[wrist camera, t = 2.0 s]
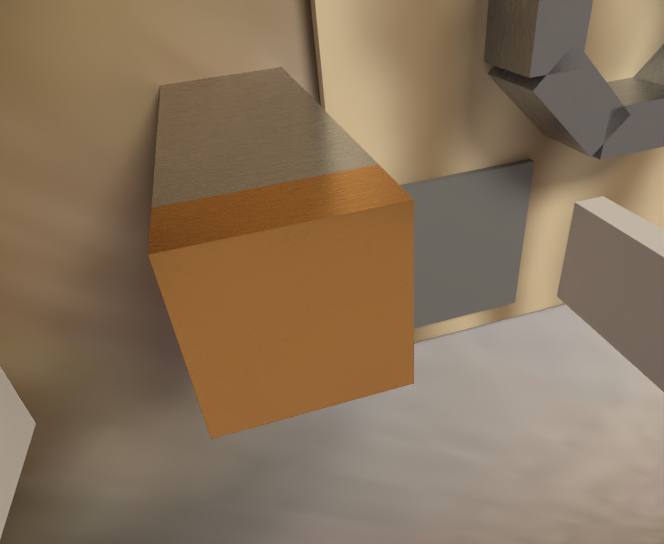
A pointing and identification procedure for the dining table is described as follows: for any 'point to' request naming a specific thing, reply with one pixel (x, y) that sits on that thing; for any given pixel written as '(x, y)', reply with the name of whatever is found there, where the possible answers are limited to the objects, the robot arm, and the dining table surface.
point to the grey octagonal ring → (571, 79)
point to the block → (277, 252)
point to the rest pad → (468, 240)
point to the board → (480, 118)
